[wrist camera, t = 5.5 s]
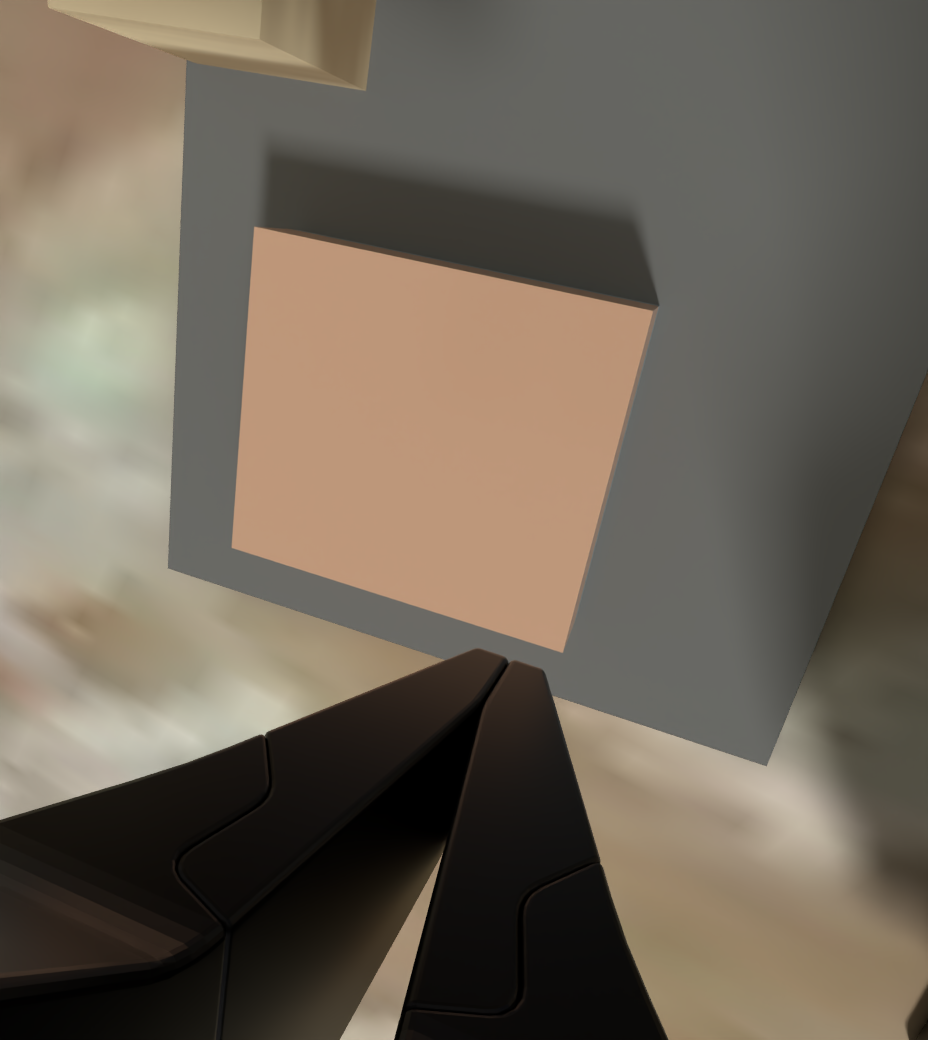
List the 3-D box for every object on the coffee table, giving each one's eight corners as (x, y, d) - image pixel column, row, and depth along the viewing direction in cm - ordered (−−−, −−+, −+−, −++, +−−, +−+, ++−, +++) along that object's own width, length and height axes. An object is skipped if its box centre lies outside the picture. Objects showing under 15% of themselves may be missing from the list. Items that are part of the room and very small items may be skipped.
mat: (765, 756, 20) (766, 766, 20) (176, 563, 24) (167, 568, 23) (1098, -66, 13) (1109, -75, 13) (205, -148, 17) (194, -157, 17)
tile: (562, 652, 18) (231, 548, 20) (576, 617, 20) (271, 523, 22) (653, 310, 15) (253, 226, 17) (659, 305, 17) (298, 229, 19)
